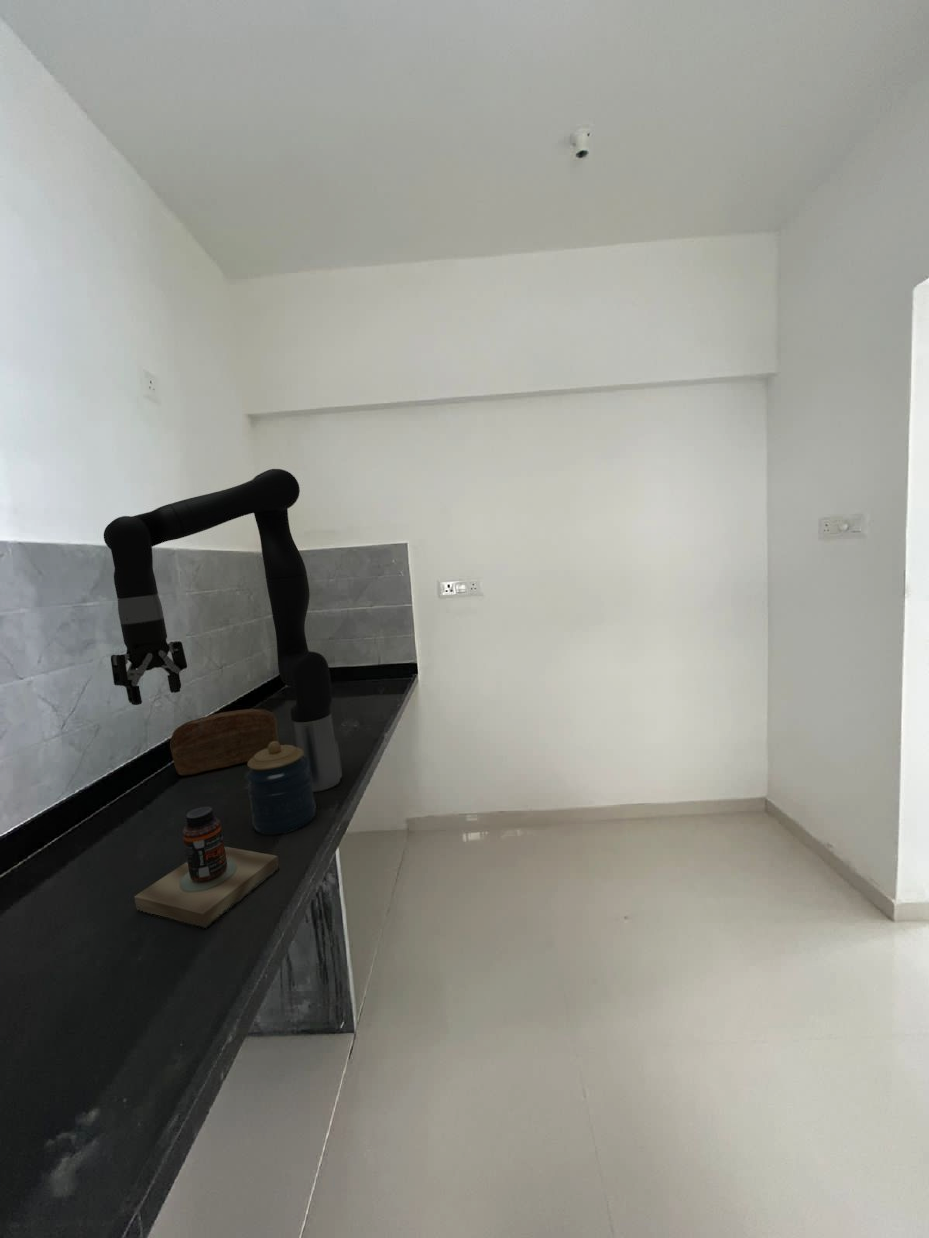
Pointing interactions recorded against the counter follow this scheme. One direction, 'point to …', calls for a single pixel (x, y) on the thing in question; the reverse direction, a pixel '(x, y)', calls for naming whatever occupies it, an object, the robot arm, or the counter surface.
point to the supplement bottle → (204, 845)
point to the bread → (222, 740)
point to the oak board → (205, 888)
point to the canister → (280, 789)
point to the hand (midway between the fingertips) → (157, 698)
